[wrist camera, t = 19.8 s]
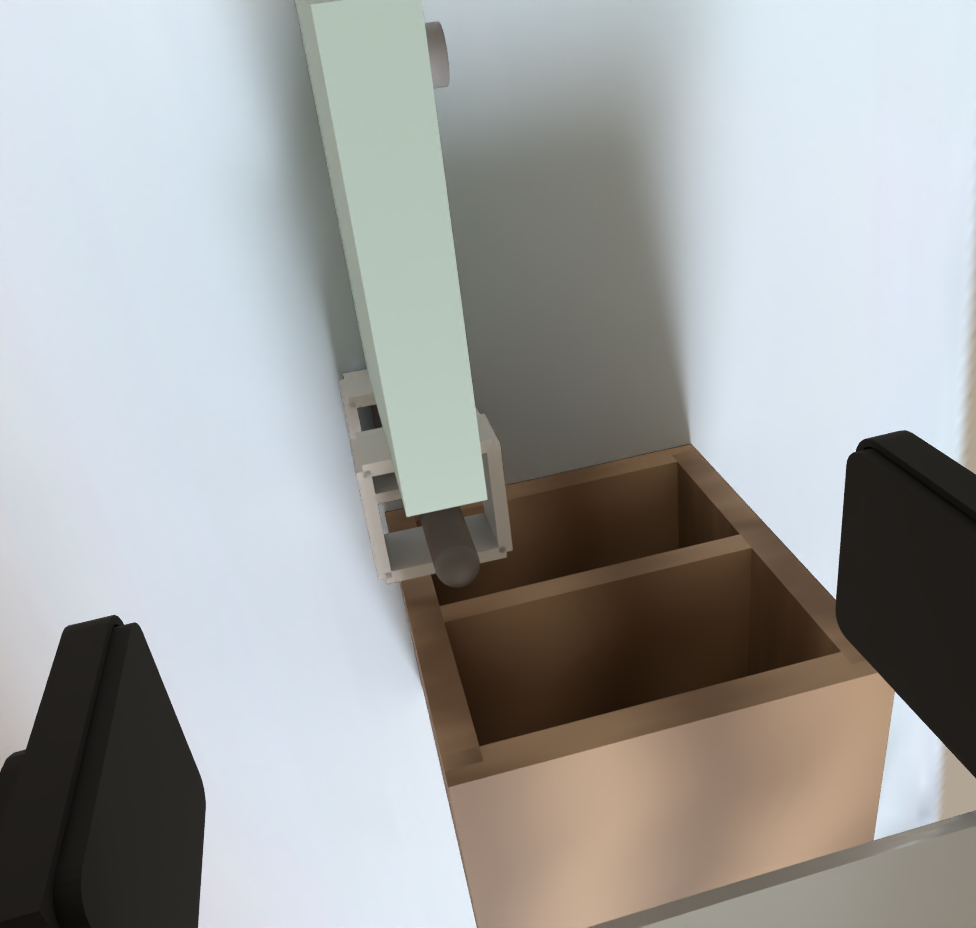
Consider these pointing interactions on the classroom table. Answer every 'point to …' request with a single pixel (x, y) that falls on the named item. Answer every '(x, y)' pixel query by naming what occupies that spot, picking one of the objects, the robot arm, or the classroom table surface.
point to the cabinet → (637, 695)
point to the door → (401, 277)
